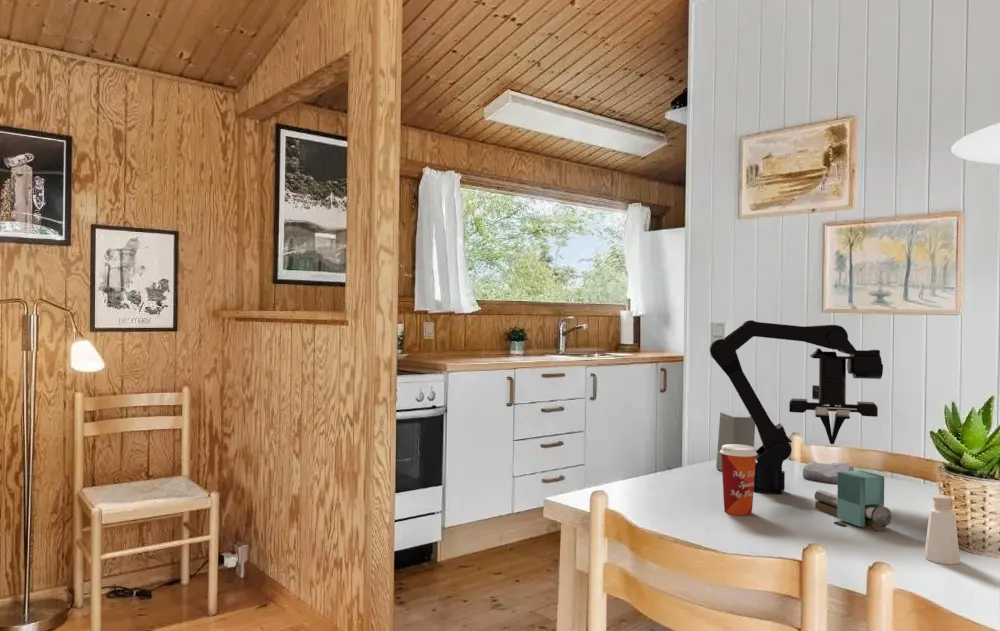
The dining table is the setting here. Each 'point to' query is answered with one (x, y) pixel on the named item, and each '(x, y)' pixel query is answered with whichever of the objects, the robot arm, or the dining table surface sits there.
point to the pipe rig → (873, 516)
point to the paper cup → (738, 478)
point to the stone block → (825, 471)
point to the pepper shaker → (942, 533)
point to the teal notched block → (858, 495)
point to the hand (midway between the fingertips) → (831, 443)
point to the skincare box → (734, 431)
